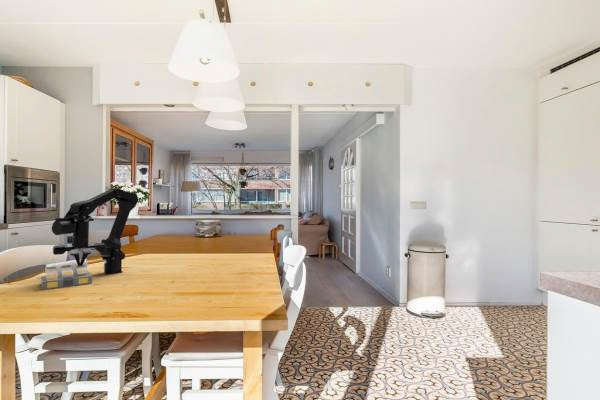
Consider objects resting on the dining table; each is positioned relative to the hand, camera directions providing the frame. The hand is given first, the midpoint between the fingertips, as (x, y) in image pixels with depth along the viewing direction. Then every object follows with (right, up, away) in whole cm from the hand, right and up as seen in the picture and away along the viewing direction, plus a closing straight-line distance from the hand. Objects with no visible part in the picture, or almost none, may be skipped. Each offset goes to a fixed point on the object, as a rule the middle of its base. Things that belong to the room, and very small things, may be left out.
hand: (79, 268), depth 143 cm
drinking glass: (-18, -2, +4) cm, 18 cm away
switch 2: (0, 0, -7) cm, 7 cm away
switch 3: (+3, 0, -4) cm, 6 cm away
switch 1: (-4, 0, -11) cm, 11 cm away
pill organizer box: (0, -5, -7) cm, 9 cm away
